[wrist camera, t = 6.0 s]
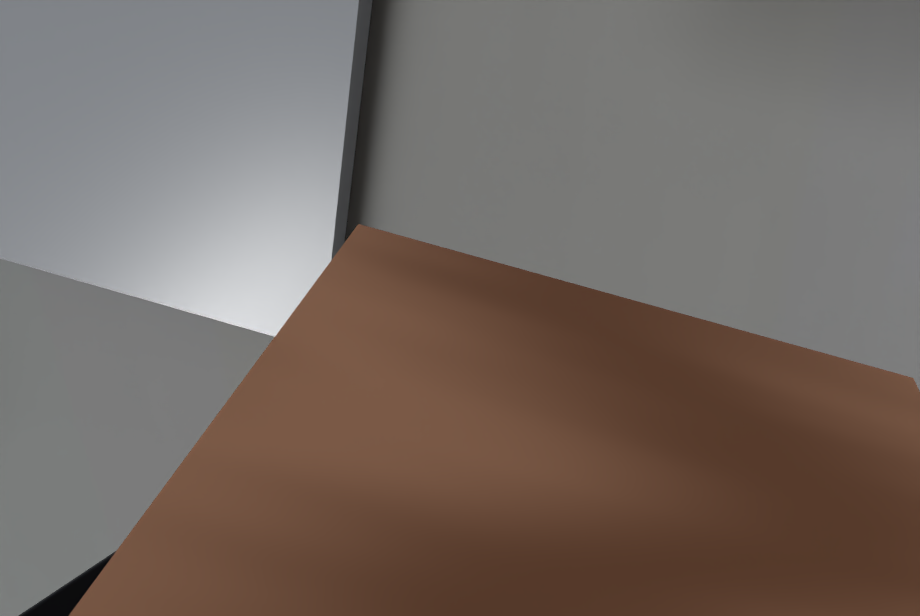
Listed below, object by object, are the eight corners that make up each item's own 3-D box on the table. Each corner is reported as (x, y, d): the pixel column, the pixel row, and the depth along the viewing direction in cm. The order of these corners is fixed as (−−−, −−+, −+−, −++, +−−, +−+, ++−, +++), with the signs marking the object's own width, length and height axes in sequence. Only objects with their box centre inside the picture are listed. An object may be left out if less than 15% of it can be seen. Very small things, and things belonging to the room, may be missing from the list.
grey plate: (404, -276, 14) (388, -283, 14) (334, 329, 22) (322, 349, 21) (-270, -422, 15) (-322, -437, 15) (-113, 204, 23) (-141, 218, 22)
